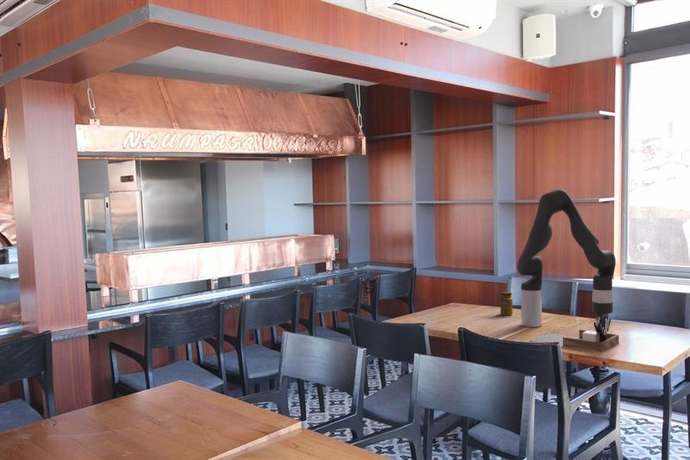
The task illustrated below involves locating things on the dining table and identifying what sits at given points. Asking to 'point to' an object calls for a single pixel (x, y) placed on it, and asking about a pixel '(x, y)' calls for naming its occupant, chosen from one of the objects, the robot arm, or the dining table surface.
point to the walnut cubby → (592, 342)
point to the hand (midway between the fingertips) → (602, 343)
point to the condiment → (506, 304)
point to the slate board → (555, 339)
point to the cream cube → (591, 336)
